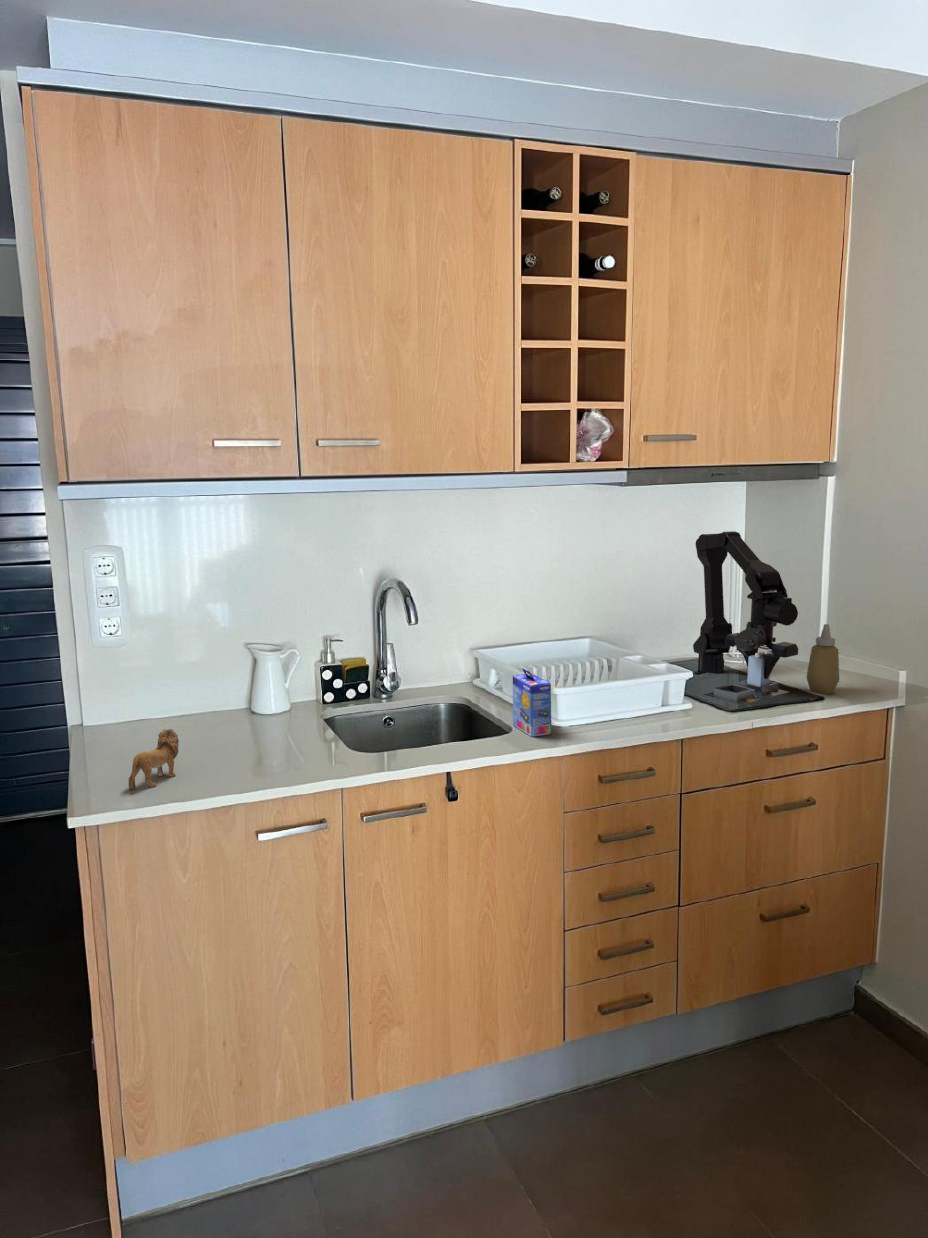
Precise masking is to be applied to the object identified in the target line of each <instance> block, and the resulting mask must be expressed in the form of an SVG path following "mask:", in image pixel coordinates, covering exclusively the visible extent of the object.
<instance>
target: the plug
mask: <svg viewBox="0 0 928 1238" xmlns="http://www.w3.org/2000/svg"><path fill="white" fill-rule="evenodd" d="M763 654H766V653H765V652H764V651H758V653H755V655H752V656H749V660H748V667H747V679H746V680H747V683H748V684H753V685H757V686H765V685H769V684H770V681H771V674H770V675H769V677H768V679H764V664H765V659H764V657H763V656H762V655H763Z"/></svg>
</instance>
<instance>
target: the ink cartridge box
mask: <svg viewBox="0 0 928 1238" xmlns="http://www.w3.org/2000/svg"><path fill="white" fill-rule="evenodd" d="M521 670H522V671H523V673H521V674H513V675H512V725H513V726H514V727H515V728H517V730H520V731H522V732H523V733H524V734H526V735H527V736H529V737H531V738H532V737H533V738H534V737H540V736H541V737H542V736H547V735H549V736H550V735H552V685H551V682H550V681H549V680H546V679H544V678H541V677H539V676H538V675H537V674H534V673H531V671H530V670H527V669H525V668H523V667H522V668H521Z"/></svg>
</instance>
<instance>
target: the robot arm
mask: <svg viewBox="0 0 928 1238" xmlns="http://www.w3.org/2000/svg"><path fill="white" fill-rule="evenodd" d="M695 549H696V555H697V557H696V558H698V559H699V561H700V563H701V564H702V565H703V566H702V567H703V577H704V578H703V581H704V583H703V585H704V605H705V606H704V607H705V619H704V620H703V622H702V624H701V626H700V632H699V633H700V634H699V636H698V638H697V639H696V640H695V642H693V645H692V648H693V652H694V653H696V654H698V664H697V670H694V672H693V673H694V674H697V675H703V674H716V675H719V674H724V672H725V659H724V654H729V652H730V649H731V647H732V648H734V647H735V648H736V649H735V651H737V652H739V653H740V654H741V655H742V656H743V658H744V661H745V664H746V666H747V668H748V660H749V656H752V655H755V653H758V652H759V649H763V650H766V651H767V653H765V654H763V655H762V656H763V657H764V659H765V664H764V679H768V677H769V675H770V676H771V673H772V671H774V667H775V666H776V664H777V663H778V661H779V660H780V659H781V658H784V659H787V658H790V657H794V656H798V655H799V647H798V645H797V644H796V643H792V642H787V641H782V642H777V643H776V639H777V638H776V637H774V627H777V626H778V625H777V624H780V625H782V626H790V625H792V624H794V623H795V622H796V621H797V618H798V615H799V611H798V609H797V606H796V605H795V603H792V601H793V599H792V597H788V596H789V595H788V592H787V589H786V587H785V585H784V582H783V580H782V576H781V574H780V572H779V571H778V570H777V569H775V568H774V567H773V566H772V565H770V564H769V563H765V562H763V561H762V560H761V559H760V558H759V557H758V556H757V555H756V554H755V553H754V551H753V550H752V549H751V548H750V546H748V544H747V543H746V542H745V541H744V540H743V539H742V536H741V533H740V532H738V531H737V530H736V531H731V530H730V531H722V532H719V533H701V534H700V535H699V536H698V537H697V539H696V540H695ZM728 554H729V555H730V556H731V558H732V559H733V560H734V561H735V563H736V564H737V565H738V566H739V567H740V569H741V570H742V571H743V573H744V575H745V576H744V581H745V583H746V585H747V586H748V588H749V590H750V591H751V592H750V593H748V594H747V596H746V597H747V598H746V599H749V600H751V603H750V604H751V607H750V621H747V623H746V626H745V629H744V630H741V631H740V632H735V633H733V624H732V622H728V620H727V619H726V617H725V606H724V602H725V601H724V584H723V583H724V582H723V578H724V577H723V565H724V563H725V560H726V559H727V557H728Z"/></svg>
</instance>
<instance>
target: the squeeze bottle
mask: <svg viewBox="0 0 928 1238" xmlns="http://www.w3.org/2000/svg"><path fill="white" fill-rule="evenodd" d="M831 634H832V633H831V628H830V624H827V623H826V624H823V627H822V631H821V634H820V636H816V638H815V644H814V645H812V646H811V649H810V655H809V660H808V665H807V666H808V667H807V671H806V680H807V683H808V684H807V685H808V687H809V691H810V692H813V693H817V694H822V695H831V694H834V693H835V690H836V688H837V686H838V683H839V681H840V660H839V659H840V657H839V649H838V647H837V646H835V645H836V639H835V638H834V637H832V636H831Z"/></svg>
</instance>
